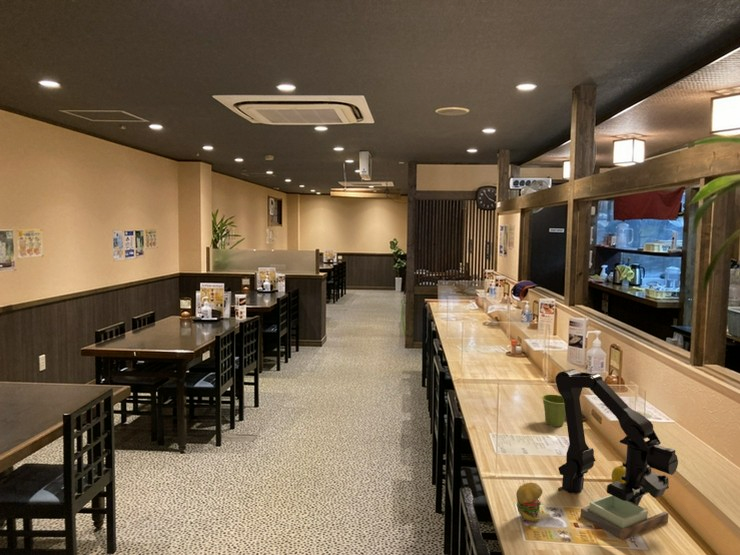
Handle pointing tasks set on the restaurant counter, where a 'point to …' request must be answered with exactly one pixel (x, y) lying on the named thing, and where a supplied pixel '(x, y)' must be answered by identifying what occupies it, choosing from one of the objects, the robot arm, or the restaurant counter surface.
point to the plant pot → (554, 409)
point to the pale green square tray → (618, 511)
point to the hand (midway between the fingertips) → (633, 511)
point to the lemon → (618, 474)
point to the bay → (626, 531)
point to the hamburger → (529, 501)
